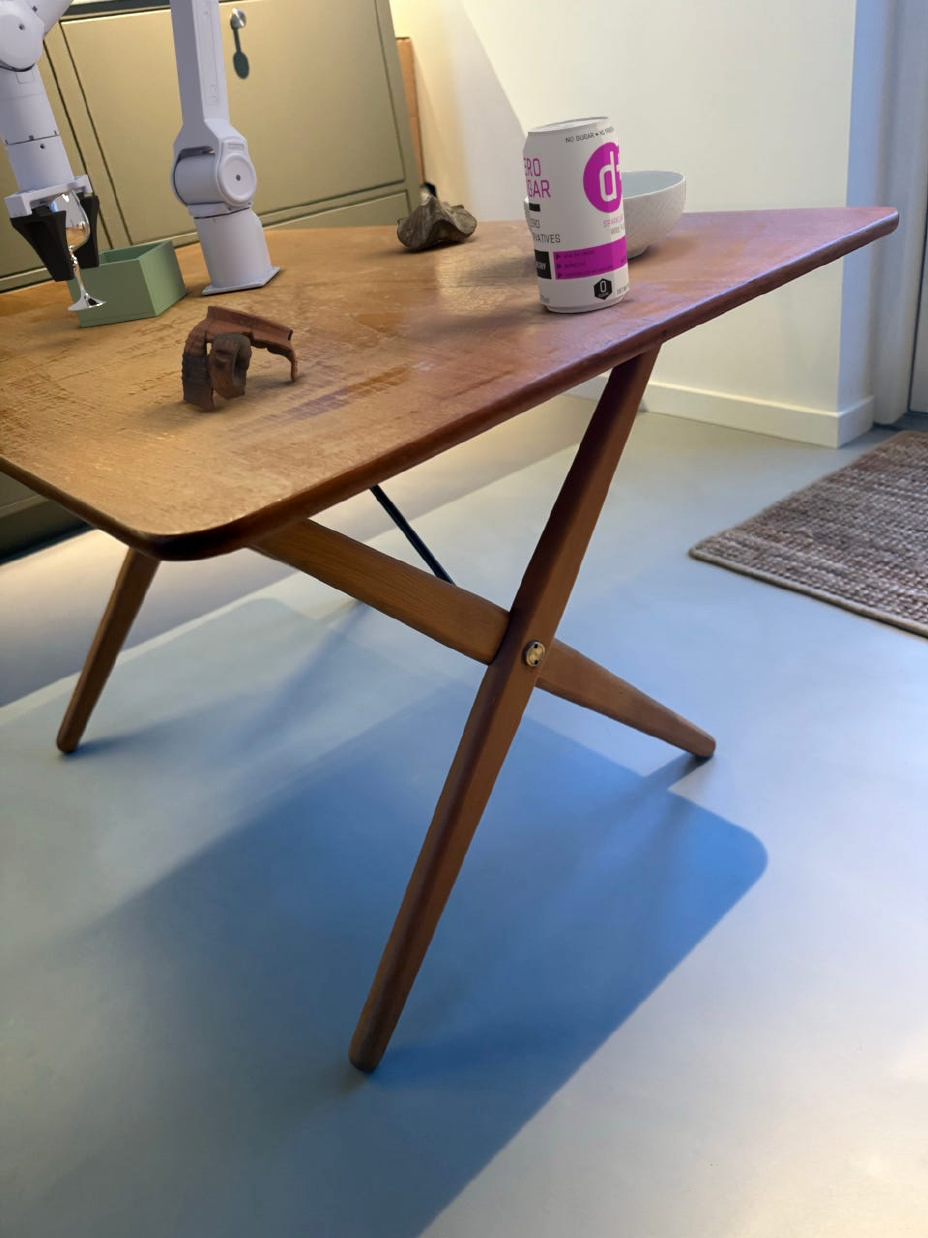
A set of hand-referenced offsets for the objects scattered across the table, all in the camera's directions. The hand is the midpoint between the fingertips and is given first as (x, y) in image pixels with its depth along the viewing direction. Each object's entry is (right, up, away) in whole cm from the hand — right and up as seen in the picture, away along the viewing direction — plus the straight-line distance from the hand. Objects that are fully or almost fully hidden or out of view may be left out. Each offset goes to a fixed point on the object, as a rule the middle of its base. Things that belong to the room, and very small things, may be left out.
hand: (77, 274), depth 111 cm
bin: (+2, 0, +14) cm, 14 cm away
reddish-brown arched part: (+24, -20, -27) cm, 41 cm away
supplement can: (+54, -9, -18) cm, 58 cm away
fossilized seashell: (+40, +10, +19) cm, 45 cm away
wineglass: (+1, -3, +2) cm, 4 cm away
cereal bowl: (+58, +1, -2) cm, 59 cm away
